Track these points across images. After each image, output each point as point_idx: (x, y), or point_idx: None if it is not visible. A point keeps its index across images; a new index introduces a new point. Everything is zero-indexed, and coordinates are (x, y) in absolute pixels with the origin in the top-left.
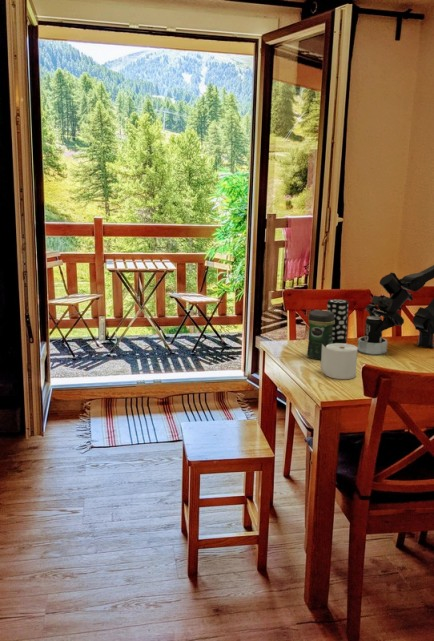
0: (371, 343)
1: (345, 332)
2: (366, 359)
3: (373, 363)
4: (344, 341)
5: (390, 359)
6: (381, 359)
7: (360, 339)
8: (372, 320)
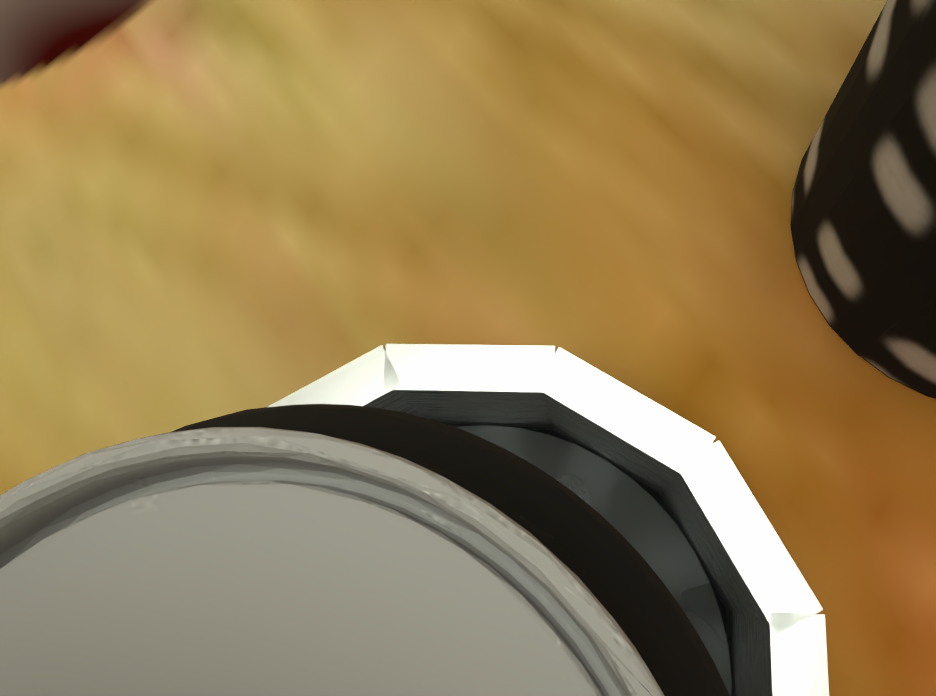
0: (291, 398)
1: (930, 54)
2: (263, 189)
3: (92, 121)
4: (847, 155)
5: (15, 485)
6: (111, 370)
7: (713, 532)
8: (108, 476)
